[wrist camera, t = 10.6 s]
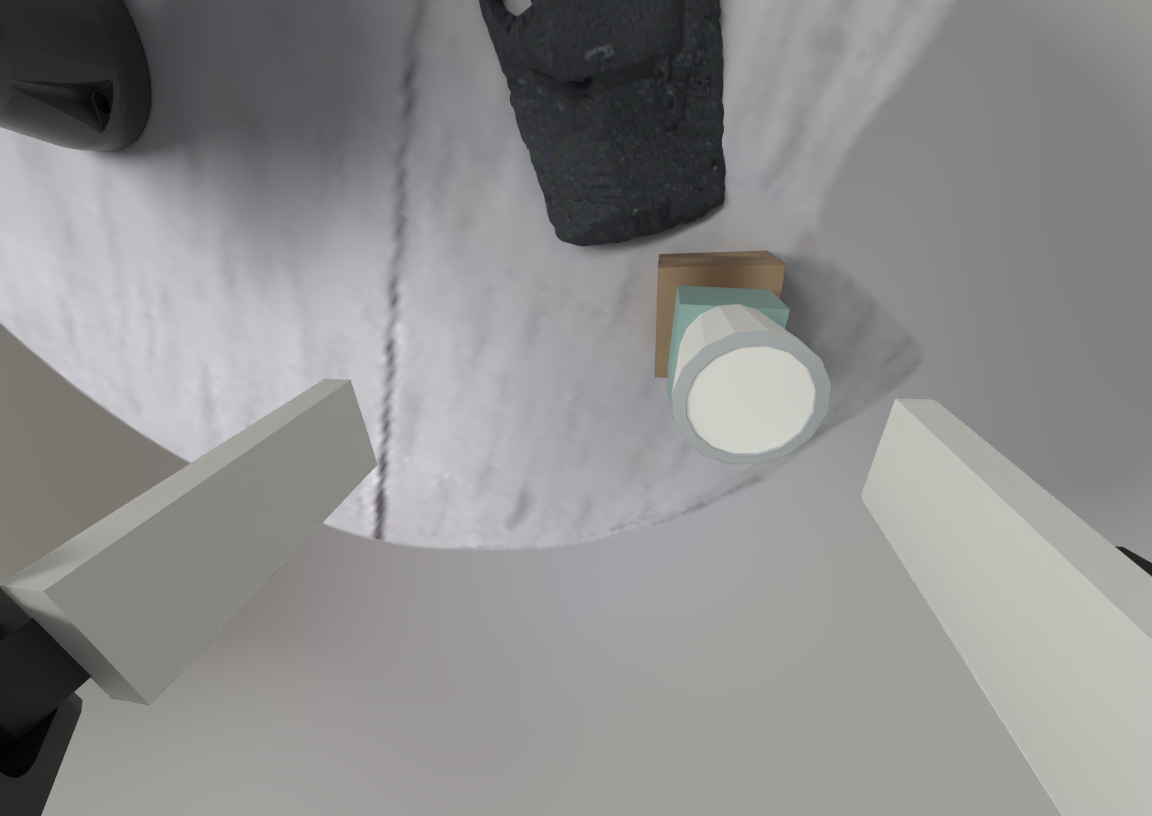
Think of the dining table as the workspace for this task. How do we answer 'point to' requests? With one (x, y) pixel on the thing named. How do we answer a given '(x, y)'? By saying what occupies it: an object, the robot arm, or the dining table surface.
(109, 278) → the dining table surface
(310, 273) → the dining table surface
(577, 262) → the dining table surface
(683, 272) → the bottom block
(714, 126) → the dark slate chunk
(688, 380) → the shot glass
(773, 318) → the top block
